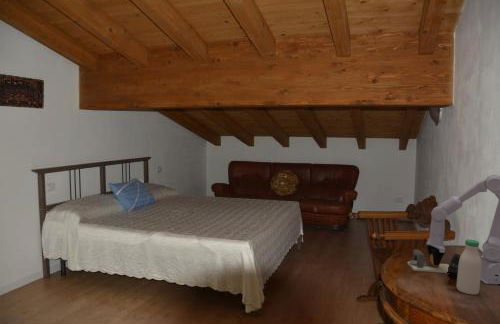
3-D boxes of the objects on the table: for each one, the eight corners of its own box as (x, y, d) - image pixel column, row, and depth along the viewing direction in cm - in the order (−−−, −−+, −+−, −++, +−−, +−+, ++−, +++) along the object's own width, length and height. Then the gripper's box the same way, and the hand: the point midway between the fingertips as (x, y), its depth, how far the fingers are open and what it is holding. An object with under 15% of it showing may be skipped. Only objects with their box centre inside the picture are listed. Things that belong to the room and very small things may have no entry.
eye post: (423, 268, 169) (424, 254, 168) (417, 267, 169) (418, 254, 169) (417, 262, 176) (418, 249, 175) (412, 262, 176) (413, 249, 175)
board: (456, 273, 167) (456, 271, 167) (414, 270, 168) (414, 268, 168) (447, 266, 176) (447, 264, 176) (407, 263, 177) (407, 261, 177)
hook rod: (436, 264, 174) (437, 253, 173) (440, 267, 170) (441, 256, 169) (408, 262, 175) (409, 252, 174) (411, 265, 171) (412, 254, 170)
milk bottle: (482, 296, 144) (487, 244, 143) (460, 293, 146) (464, 242, 144) (474, 288, 152) (479, 239, 150) (453, 285, 153) (458, 237, 152)
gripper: (421, 228, 178) (419, 257, 179) (434, 237, 164) (431, 268, 165) (437, 229, 177) (435, 258, 179) (451, 238, 163) (448, 269, 164)
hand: (434, 263), depth 172 cm, fingers closed on hook rod, 4 cm apart
